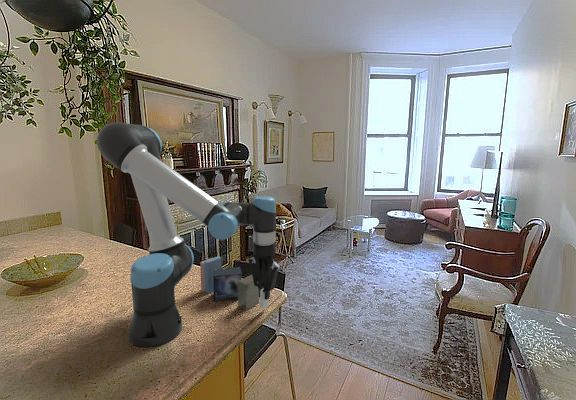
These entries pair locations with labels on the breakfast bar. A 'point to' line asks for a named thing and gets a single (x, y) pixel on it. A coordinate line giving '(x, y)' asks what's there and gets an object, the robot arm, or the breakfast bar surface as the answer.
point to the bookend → (247, 293)
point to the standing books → (209, 273)
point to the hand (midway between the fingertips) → (264, 306)
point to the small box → (226, 283)
